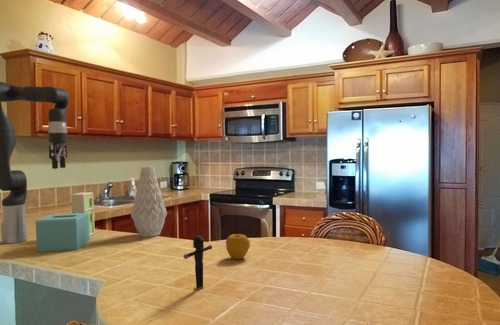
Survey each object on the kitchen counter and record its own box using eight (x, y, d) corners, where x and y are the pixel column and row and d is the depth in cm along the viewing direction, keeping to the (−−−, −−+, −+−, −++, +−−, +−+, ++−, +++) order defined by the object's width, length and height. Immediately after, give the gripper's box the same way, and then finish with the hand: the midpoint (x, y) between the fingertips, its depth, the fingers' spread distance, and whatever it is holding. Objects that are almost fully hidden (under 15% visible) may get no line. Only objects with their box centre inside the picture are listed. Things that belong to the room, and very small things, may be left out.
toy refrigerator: (86, 238, 180) (84, 194, 179) (72, 237, 181) (70, 194, 181) (96, 234, 188) (94, 192, 187) (83, 234, 189) (81, 192, 189)
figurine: (207, 281, 113) (205, 231, 113) (217, 283, 111) (216, 232, 111) (180, 294, 103) (178, 239, 102) (191, 297, 101) (189, 241, 100)
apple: (253, 255, 140) (252, 231, 139) (245, 262, 132) (244, 236, 131) (231, 254, 142) (230, 230, 142) (222, 260, 134) (221, 235, 134)
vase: (125, 236, 181) (122, 167, 181) (155, 230, 193) (152, 166, 193) (144, 240, 170) (141, 167, 169) (174, 234, 182) (172, 166, 181)
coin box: (37, 252, 156) (35, 220, 155) (53, 242, 171) (51, 214, 171) (77, 249, 157) (76, 218, 157) (89, 241, 173) (88, 212, 173)
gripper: (55, 133, 177) (56, 167, 178) (41, 131, 163) (43, 169, 163) (72, 133, 178) (73, 167, 178) (60, 131, 164) (61, 168, 164)
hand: (59, 168), depth 171 cm, fingers open, 8 cm apart
